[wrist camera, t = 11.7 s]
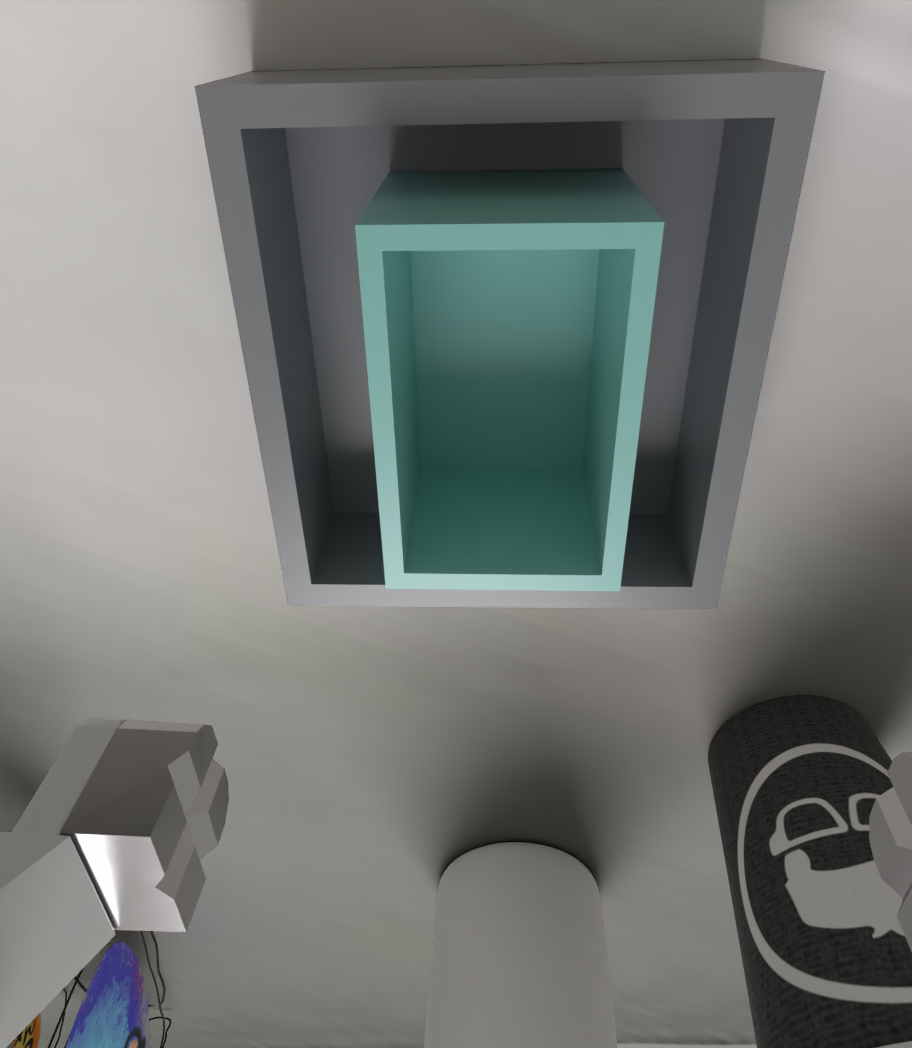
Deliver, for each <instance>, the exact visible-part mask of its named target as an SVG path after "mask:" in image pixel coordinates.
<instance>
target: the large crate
mask: <svg viewBox="0 0 912 1048" xmlns="http://www.w3.org/2000/svg"><path fill="white" fill-rule="evenodd" d="M824 73H825V71H821V70H816V69H811V68H806V67H801V66H796V65H791V64H786V63H780V62H775V61H770V60H765V59H725V60H684V61H643V62H603V63H562V64H522V65H481V66H441V67H400V68H360V69H319V70H279V71H251V72H247V73H243V74H239V75H235V76H232V77H228V78H224V79H220V80H216V81H213V82H209V83H205V84H201V85H197V86H195V90H196V95H197V101H198V106H199V112H200V117H201V123H202V129H203V134H204V140H205V145H206V151H207V156H208V162H209V168H210V173H211V179H212V184H213V190H214V195H215V201H216V207H217V212H218V218H219V223H220V229H221V234H222V240H223V246H224V251H225V257H226V262H227V268H228V273H229V279H230V285H231V290H232V296H233V301H234V307H235V312H236V318H237V324H238V329H239V335H240V340H241V346H242V351H243V357H244V362H245V368H246V374H247V379H248V385H249V390H250V396H251V401H252V407H253V413H254V418H255V424H256V429H257V435H258V440H259V446H260V452H261V457H262V463H263V468H264V474H265V479H266V485H267V491H268V496H269V502H270V507H271V513H272V518H273V524H274V530H275V535H276V541H277V546H278V552H279V557H280V563H281V569H282V574H283V580H284V585H285V591H286V596H287V602H288V605H289V606H408V607H527V608H646V609H716V608H717V603H718V598H719V593H720V588H721V583H722V578H723V573H724V568H725V563H726V558H727V553H728V548H729V544H730V539H731V534H732V529H733V524H734V519H735V514H736V509H737V504H738V499H739V494H740V489H741V484H742V479H743V474H744V469H745V464H746V459H747V454H748V449H749V444H750V439H751V434H752V430H753V425H754V420H755V415H756V410H757V405H758V400H759V395H760V390H761V385H762V380H763V375H764V370H765V365H766V360H767V355H768V350H769V345H770V340H771V335H772V330H773V325H774V321H775V316H776V311H777V306H778V301H779V296H780V291H781V286H782V281H783V276H784V271H785V266H786V261H787V256H788V251H789V246H790V241H791V236H792V231H793V226H794V221H795V216H796V211H797V207H798V202H799V197H800V192H801V187H802V182H803V177H804V172H805V167H806V162H807V157H808V152H809V147H810V142H811V137H812V132H813V127H814V122H815V117H816V112H817V107H818V102H819V98H820V93H821V88H822V83H823V78H824ZM557 169H623V170H624V171H625V172H626V174H627V175H628V176H629V177H630V179H631V180H632V181H633V183H634V184H635V185H636V186H637V188H638V189H639V190H640V192H641V193H642V194H643V195H644V197H645V198H646V199H647V200H648V202H649V203H650V204H651V206H652V207H653V208H654V209H655V211H656V212H657V213H658V215H659V216H660V217H661V218H662V220H663V221H664V230H663V238H662V246H661V255H660V263H659V271H658V280H657V288H656V296H655V305H654V313H653V321H652V329H651V338H650V346H649V354H648V363H647V371H646V379H645V388H644V396H643V404H642V412H641V421H640V429H639V437H638V446H637V454H636V462H635V470H634V479H633V487H632V495H631V504H630V512H629V520H628V529H627V537H626V545H625V553H624V562H623V570H622V578H621V587H620V591H543V590H455V589H386V585H385V574H384V562H383V550H382V538H381V526H380V515H379V503H378V491H377V479H376V468H375V456H374V444H373V432H372V421H371V409H370V397H369V385H368V373H367V362H366V350H365V338H364V326H363V315H362V303H361V291H360V279H359V268H358V256H357V244H356V232H355V224H356V223H357V221H358V220H359V218H360V216H361V215H362V213H363V212H364V210H365V209H366V207H367V206H368V204H369V202H370V201H371V199H372V198H373V196H374V195H375V193H376V192H377V190H378V189H379V187H380V185H381V184H382V182H383V181H384V179H385V178H386V176H387V175H388V173H389V172H400V171H478V170H557Z"/></svg>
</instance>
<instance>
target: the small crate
mask: <svg viewBox="0 0 912 1048" xmlns="http://www.w3.org/2000/svg"><path fill="white" fill-rule="evenodd" d="M663 230H664V221H663V220H662V218H661V217H660V216H659V215H658V213H657V212H656V211H655V209H654V208H653V207H652V206H651V204H650V203H649V202H648V200H647V199H646V198H645V197H644V195H643V194H642V193H641V192H640V190H639V189H638V188H637V186H636V185H635V184H634V183H633V181H632V180H631V179H630V177H629V176H628V175H627V174H626V172H625V171H624V170H623V169H557V170H478V171H400V172H389V173H388V175H387V176H386V178H385V179H384V181H383V182H382V184H381V185H380V187H379V189H378V190H377V192H376V193H375V195H374V196H373V198H372V199H371V201H370V202H369V204H368V206H367V207H366V209H365V210H364V212H363V213H362V215H361V216H360V218H359V220H358V221H357V223H356V224H355V232H356V244H357V256H358V268H359V279H360V291H361V303H362V315H363V326H364V338H365V350H366V362H367V373H368V385H369V397H370V409H371V421H372V432H373V444H374V456H375V468H376V479H377V491H378V503H379V515H380V526H381V538H382V550H383V562H384V574H385V585H386V589H455V590H543V591H620V587H621V578H622V570H623V562H624V553H625V545H626V537H627V529H628V520H629V512H630V504H631V495H632V487H633V479H634V470H635V462H636V454H637V446H638V437H639V429H640V421H641V412H642V404H643V396H644V388H645V379H646V371H647V363H648V354H649V346H650V338H651V329H652V321H653V313H654V305H655V296H656V288H657V280H658V271H659V263H660V255H661V246H662V238H663Z"/></svg>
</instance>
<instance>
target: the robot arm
mask: <svg viewBox="0 0 912 1048" xmlns="http://www.w3.org/2000/svg"><path fill="white" fill-rule="evenodd" d="M217 745H218V743H217V740H216V737H215V734H214V731H213V728H212V726H210V725H204V724H190V723H175V722H161V721H146V720H131V719H127V720H126V719H109V718H91V717H88V718H87V719H86V720H84V721H83V722H82V723H81V724H79V725H78V726H77V727H76V728H75V730H74V731H73V733H72V735H71V736H70V738H69V739H68V741H67V743H66V744H65V746H64V748H63V749H62V751H61V752H60V754H59V756H58V757H57V759H56V761H55V762H54V764H53V765H52V767H51V769H50V770H49V772H48V774H47V775H46V777H45V778H44V780H43V782H42V783H41V785H40V787H39V788H38V790H37V791H36V793H35V795H34V796H33V798H32V800H31V801H30V803H29V804H28V806H27V808H26V809H25V811H24V813H23V814H22V816H21V817H20V819H19V821H18V822H17V824H16V826H15V827H14V829H13V830H12V832H0V1048H6V1047H7V1046H8V1045H9V1044H10V1043H11V1042H12V1041H13V1040H14V1039H15V1038H16V1037H17V1036H18V1035H19V1034H20V1033H21V1032H22V1031H23V1030H24V1029H25V1028H26V1027H27V1026H28V1025H29V1023H30V1022H31V1021H32V1020H33V1019H34V1018H35V1017H36V1016H37V1015H38V1014H39V1013H40V1012H41V1011H42V1010H43V1009H44V1008H45V1007H46V1006H47V1005H48V1004H49V1003H50V1002H51V1001H52V1000H53V999H54V998H55V997H56V996H57V995H58V994H59V993H60V992H61V990H62V989H63V988H64V987H65V986H66V985H67V984H68V983H69V982H70V981H71V980H72V979H73V978H74V977H75V976H76V975H77V974H78V973H79V972H80V971H81V970H82V969H83V968H84V967H85V966H86V965H87V964H88V963H89V962H90V961H91V960H92V958H93V957H94V956H95V955H96V954H97V953H98V952H99V951H100V950H101V949H102V948H103V947H104V946H105V945H106V944H107V943H108V942H109V941H110V940H111V939H112V938H113V937H114V936H115V931H114V930H133V931H167V932H186V931H187V929H188V926H189V923H190V920H191V918H192V915H193V912H194V909H195V907H196V904H197V901H198V898H199V896H200V893H201V890H202V887H203V885H204V882H205V876H204V872H203V869H202V866H201V863H200V860H201V859H202V858H203V857H205V856H206V855H207V854H208V853H209V852H210V851H211V850H213V849H214V848H215V847H216V846H217V845H218V843H219V840H220V837H221V834H222V831H223V828H224V825H225V820H226V814H227V807H228V801H229V793H228V780H227V776H226V772H225V768H223V767H222V766H221V765H220V764H219V763H217V762H216V761H215V760H214V759H213V755H214V753H215V750H216V748H217ZM887 774H888V776H889V778H890V780H891V782H892V785H893V788H891V789H889V790H888V791H886V792H885V793H883V794H882V795H880V796H878V797H877V798H876V800H875V803H874V805H873V808H872V811H871V814H870V816H869V841H870V845H871V850H872V854H873V859H874V861H875V864H876V866H877V869H878V871H879V874H880V877H881V879H882V880H883V881H884V882H885V883H886V884H887V885H888V886H890V887H891V888H892V889H893V890H894V891H895V892H896V893H897V894H899V895H900V896H901V897H902V898H903V901H902V904H901V906H900V909H899V912H898V915H897V918H898V921H899V923H900V925H901V928H902V930H903V933H904V935H905V937H906V940H907V942H908V945H909V947H910V949H911V952H912V752H902V753H901V754H899V755H898V756H896V757H895V758H894V759H893V761H892V763H891V766H890V768H889V770H888V772H887Z"/></svg>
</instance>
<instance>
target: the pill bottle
mask: <svg viewBox="0 0 912 1048" xmlns="http://www.w3.org/2000/svg"><path fill="white" fill-rule="evenodd" d="M424 1048H617V1039H616V1030H615V1021H614V1012H613V1003H612V994H611V985H610V976H609V967H608V958H607V949H606V940H605V931H604V922H603V913H602V904H601V899H600V895H599V890H598V887H597V884H596V881H595V879H594V877H593V876H592V874H591V873H590V871H589V870H588V869H587V868H586V867H585V866H584V865H583V864H582V863H581V862H580V861H578V860H577V859H576V858H574V857H572V856H571V855H569V854H567V853H565V852H563V851H560V850H558V849H555V848H552V847H548V846H544V845H539V844H533V843H523V842H507V843H497V844H491V845H487V846H483V847H480V848H477V849H474V850H471V851H469V852H467V853H465V854H463V855H462V856H460V857H458V858H457V859H456V860H454V861H453V862H452V863H451V864H450V865H449V866H448V868H447V869H446V870H445V872H444V873H443V875H442V877H441V879H440V882H439V885H438V890H437V896H436V901H435V914H434V927H433V940H432V953H431V966H430V979H429V992H428V1005H427V1018H426V1031H425V1044H424Z"/></svg>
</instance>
